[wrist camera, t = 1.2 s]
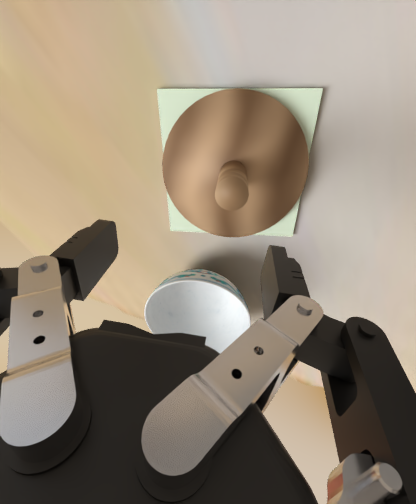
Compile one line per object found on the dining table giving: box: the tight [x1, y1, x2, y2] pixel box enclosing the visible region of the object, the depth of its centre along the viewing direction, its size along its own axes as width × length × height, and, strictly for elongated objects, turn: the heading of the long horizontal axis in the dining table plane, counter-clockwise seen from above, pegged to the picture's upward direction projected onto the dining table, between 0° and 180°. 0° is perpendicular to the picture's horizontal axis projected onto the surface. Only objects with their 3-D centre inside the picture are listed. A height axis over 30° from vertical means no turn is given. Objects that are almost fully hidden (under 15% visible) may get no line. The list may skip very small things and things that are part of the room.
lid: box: [162, 88, 309, 237], centre depth 27 cm, size 17×17×8 cm
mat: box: [157, 88, 323, 237], centre depth 31 cm, size 17×17×1 cm
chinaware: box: [144, 269, 251, 353], centre depth 38 cm, size 15×15×8 cm
